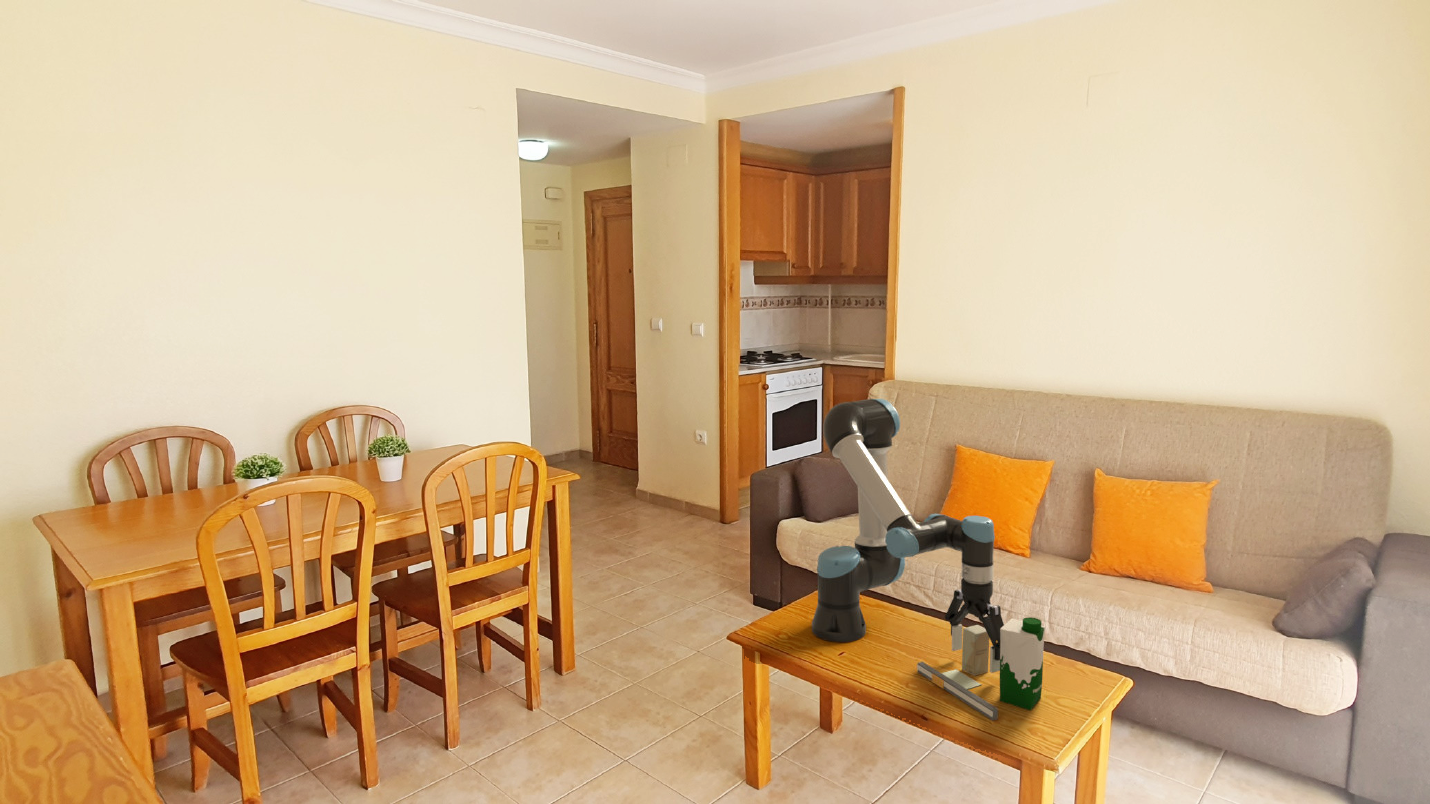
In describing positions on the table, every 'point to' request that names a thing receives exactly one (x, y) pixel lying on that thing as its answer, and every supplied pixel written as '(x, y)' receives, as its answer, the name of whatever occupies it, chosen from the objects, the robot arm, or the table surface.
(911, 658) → the table surface
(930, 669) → the rail
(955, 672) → the pad
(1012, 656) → the fresh milk carton
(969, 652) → the box
